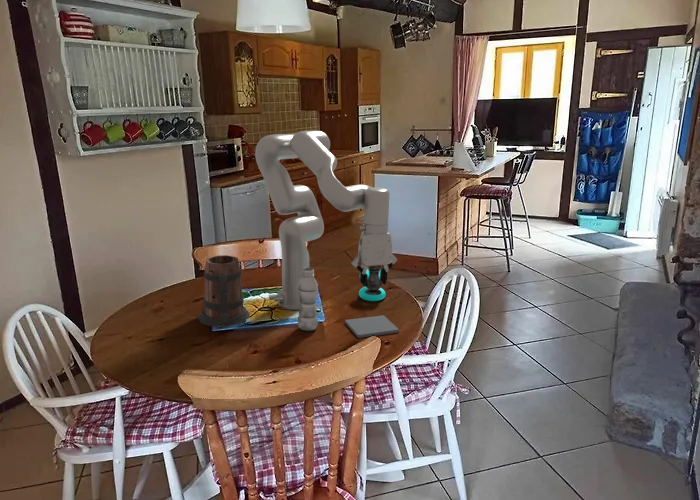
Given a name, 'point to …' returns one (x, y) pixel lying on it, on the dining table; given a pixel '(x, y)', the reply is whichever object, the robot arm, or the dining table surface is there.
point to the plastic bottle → (307, 300)
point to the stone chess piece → (374, 281)
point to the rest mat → (371, 326)
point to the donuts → (371, 297)
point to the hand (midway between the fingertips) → (373, 283)
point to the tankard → (223, 292)
